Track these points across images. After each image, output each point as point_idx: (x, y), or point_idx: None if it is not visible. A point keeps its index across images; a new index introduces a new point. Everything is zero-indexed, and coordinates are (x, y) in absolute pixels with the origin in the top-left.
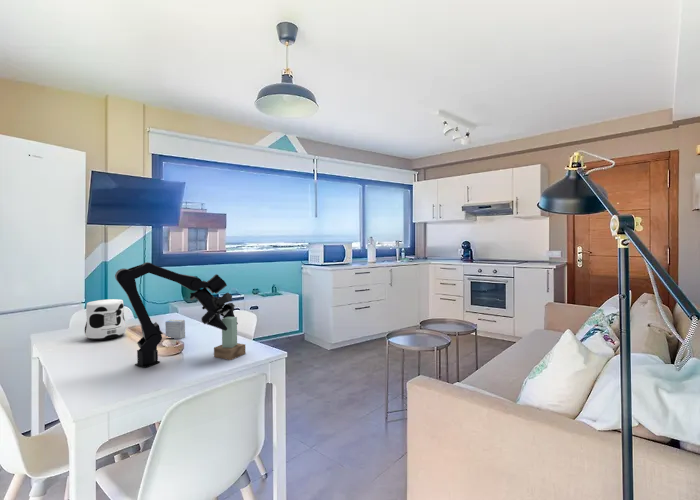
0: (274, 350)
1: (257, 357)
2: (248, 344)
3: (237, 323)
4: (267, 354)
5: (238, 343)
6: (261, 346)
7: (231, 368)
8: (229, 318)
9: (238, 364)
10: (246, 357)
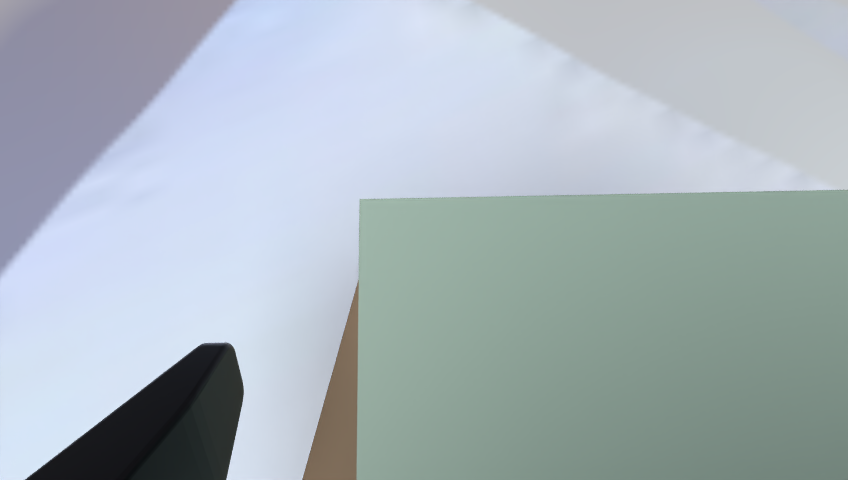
0: (240, 26)
1: (472, 94)
2: (28, 388)
3: (224, 343)
4: (370, 42)
5: (344, 345)
6: (109, 199)
7: (815, 189)
8: (780, 417)
9: (701, 177)
10: (496, 194)
